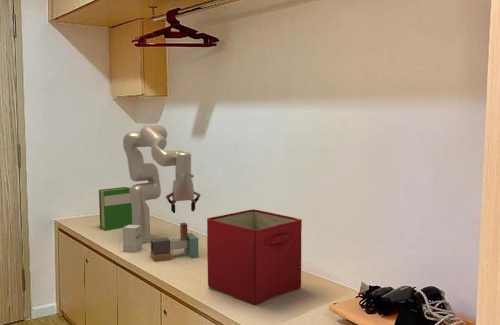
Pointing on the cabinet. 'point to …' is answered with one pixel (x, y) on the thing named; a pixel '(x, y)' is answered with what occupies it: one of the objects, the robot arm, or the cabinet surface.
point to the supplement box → (132, 238)
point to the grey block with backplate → (160, 249)
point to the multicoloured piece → (183, 240)
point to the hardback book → (115, 208)
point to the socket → (192, 246)
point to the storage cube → (254, 254)
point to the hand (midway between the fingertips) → (183, 211)
